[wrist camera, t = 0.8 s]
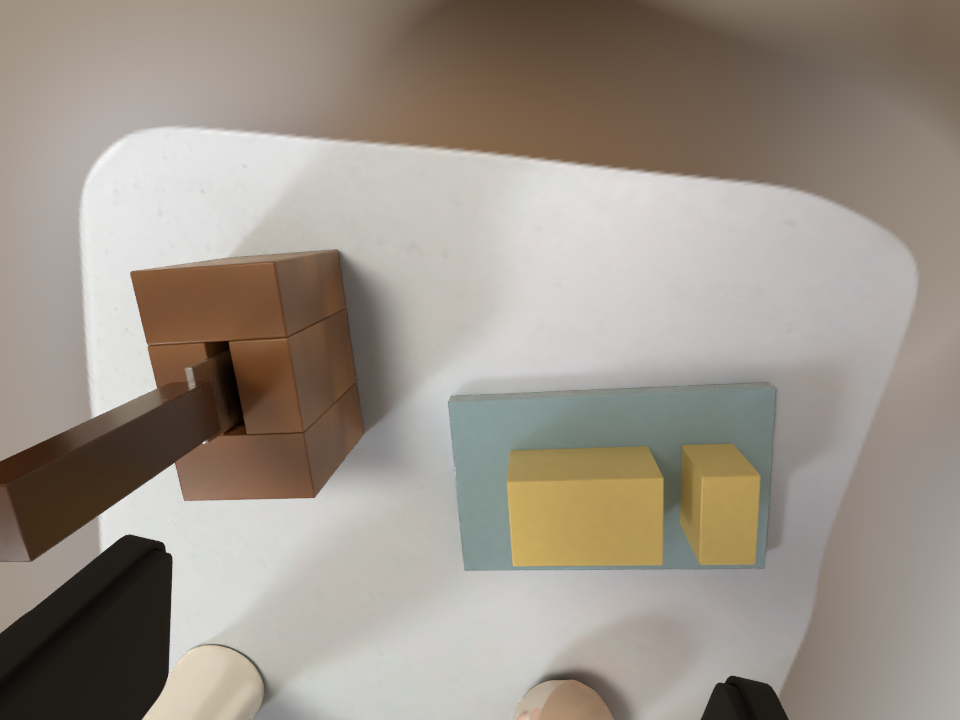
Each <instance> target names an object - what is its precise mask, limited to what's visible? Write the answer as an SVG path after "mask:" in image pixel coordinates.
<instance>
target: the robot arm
mask: <svg viewBox="0 0 960 720" xmlns="http://www.w3.org/2000/svg"><path fill="white" fill-rule="evenodd" d="M171 589H172V556H171V554H169V553H166V549H165V545H164V544H163V543H162V542H160V541H155V540H151V539H147V538H143V537H138V536H134V535H125V536H123V537H122V538H120V539H119V540H118V541H116V542H115V543H114V544H113V545H111V546H110V547H109V548H108V549H106V550H105V551H104V552H103V553H101V554H100V555H99V556H98V557H97V558H95V559H94V560H93V561H92V562H90V563H89V564H88V565H87V566H86V567H84V568H83V569H82V570H80V571H79V572H78V573H77V574H76V575H74V576H73V577H72V578H71V579H69V580H68V581H67V582H66V583H64V584H63V585H62V586H61V587H60V588H58V589H57V590H56V591H55V592H53V593H52V594H51V595H50V596H48V597H47V598H46V599H45V600H43V601H42V602H41V603H40V604H38V605H37V606H36V607H35V608H34V609H32V610H31V611H29V612H28V613H26V614H25V615H23V616H22V617H20V618H19V619H18V620H17V621H15V622H14V623H13V624H12V625H11V626H9V627H8V628H7V629H6V630H4V631H3V632H2V633H0V720H142V719H143V718H144V716H145V715H146V714H147V712H148V711H149V710H150V708H151V707H152V706H153V704H154V703H155V702H156V700H157V699H158V698H159V696H160V695H161V693H162V691H163V689H164V687H165V684H166V682H167V678H168V673H169V646H170V618H171ZM701 720H789V719H788V718H787V715H786V713H785V711H784V709H783V707H782V705H781V703H780V701H779V699H778V697H777V695H776V693H775V692H774V690H773V689H772V687H771V686H770V685H768V684H766V683H762V682H758V681H754V680H749V679H745V678H741V677H736V676H730V677H729V678H727V680H726V682H725V683H718V684H716V686H715V687H714V690H713V692H712V694H711V697H710V699H709V702H708V704H707V706H706V709H705V711H704V713H703V716H702V718H701Z"/></svg>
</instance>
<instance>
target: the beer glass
mask: <svg viewBox="0 0 960 720" xmlns="http://www.w3.org/2000/svg"><path fill="white" fill-rule="evenodd" d="M263 698H264V684H263V681H262V678H261V676H260V674H259V672H258V670H257V669H256V667H255V666H254V665H253V664H252V663H251V662H250V661H249V660H248V659H247V658H246V657H244V656H243V655H242V654H240V653H238V652H236V651H234V650H232V649H230V648H227V647H223V646H218V645H203V646H198V647H195V648H193V649H191V650H189V651H187V652H186V653H185V654H184V655H183V656H182V657H181V658H180V659H179V660H178V662H177V663H176V665H175V666H174V668H173V670H172V672H171V674H170V675H169V677H168V679H167V682H166V684H165V687H164V689H163V691H162V693H161V695H160V696H159V698H158V699H157V700H156V702H155V703H154V704H153V706H152V707H151V708H150V710H149V711H148V712H147V714H146V715H145V716H144V718H143V719H142V720H251V719H252V718H253V716H254V715H255V714H256V713H257V711H258V709H259V708H260V706H261V704H262V701H263Z"/></svg>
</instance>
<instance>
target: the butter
mask: <svg viewBox="0 0 960 720" xmlns="http://www.w3.org/2000/svg"><path fill="white" fill-rule="evenodd" d="M507 494H508V508H509V522H510V536H511V550H512V564H513V566H635V565H663V515H664V478H663V476H662V474H661V472H660V470H659V468H658V466H657V464H656V462H655V460H654V458H653V456H652V454H651V452H650V450H649V448H648V446H633V447H601V448H569V449H537V450H511V451H510V454H509V465H508V475H507Z"/></svg>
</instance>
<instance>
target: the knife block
mask: <svg viewBox="0 0 960 720" xmlns="http://www.w3.org/2000/svg"><path fill="white" fill-rule="evenodd" d="M130 275H131V279H132V283H133V287H134V291H135V296H136V300H137V304H138V308H139V312H140V316H141V321H142V325H143V329H144V333H145V337H146V342H147V344H148V345H150V346H148V351H149V356H150V360H151V364H152V368H153V372H154V376H155V381H156V385H157V389H158V388H160V387H162V386H164V385H166V384H168V383H171V382H187V377H186V373H185V368H186V367H188V366H191V365H193V364H195V363H197V362H200V361H202V360H204V359H206V358H209V357H211V356H213V355H216V354H218V353H220V352H222V351H225V350H227V349H229V348H230V351H231V356H232V362H233V367H234V372H235V377H236V382H237V387H238V392H239V397H240V402H241V407H242V412H243V417H244V418H243V419H242V420H240V421H239V422H238V423H236V424H235V425H233V426H232V427H231V428H229V429H228V430H226V431H225V432H223V433H222V434H221V435H219V436H218V437H216V438H215V439H213V440H212V441H211V442H209V443H202V444H201V445H199V446H198V447H197V448H195V449H194V450H192V451H191V452H189V453H188V454H186V455H185V456H184V457H182V458H181V459H179V460H178V461H176V462H175V465H176V469H177V473H178V477H179V482H180V486H181V490H182V494H183V498H184V501H198V500H242V499H287V498H315V497H316V495H317V494H318V493H319V492H320V490H321V489H322V488H323V486H324V485H325V484H326V483H327V481H328V480H329V479H330V477H331V476H332V475H333V473H334V472H335V471H336V470H337V468H338V467H339V466H340V464H341V463H342V462H343V460H344V459H345V458H346V457H347V455H348V454H349V453H350V451H351V450H352V449H353V447H354V446H355V445H356V444H357V442H358V441H359V440H360V438H361V437H362V436H363V434H364V431H363V424H362V416H361V409H360V402H359V395H358V388H357V383H356V375H355V368H354V361H353V353H352V346H351V339H350V332H349V325H348V318H347V311H346V309H345V308H346V305H345V298H344V291H343V284H342V277H341V270H340V262H339V255H338V251H337V250H324V251H310V252H297V253H284V254H271V255H257V256H244V257H231V258H222V259H215V260H208V261H201V262H194V263H187V264H180V265H173V266H166V267H159V268H152V269H145V270H138V271H132V272H131V273H130Z"/></svg>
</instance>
